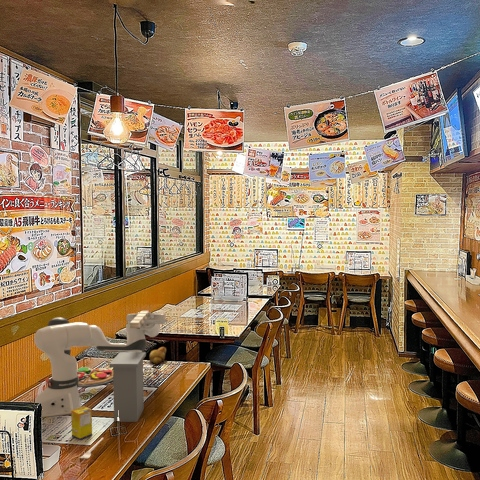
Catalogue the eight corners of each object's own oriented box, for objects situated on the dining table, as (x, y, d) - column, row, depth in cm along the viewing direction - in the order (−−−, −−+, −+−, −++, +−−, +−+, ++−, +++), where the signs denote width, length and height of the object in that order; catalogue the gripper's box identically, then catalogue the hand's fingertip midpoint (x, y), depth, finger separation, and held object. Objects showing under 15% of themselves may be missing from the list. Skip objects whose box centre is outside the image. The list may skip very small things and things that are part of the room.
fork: (107, 439, 206) (107, 435, 206) (85, 462, 186) (85, 457, 186) (99, 439, 207) (99, 434, 206) (76, 462, 187) (76, 457, 187)
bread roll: (162, 364, 303) (162, 351, 303) (146, 364, 304) (146, 351, 304) (167, 358, 316) (167, 345, 316) (151, 358, 317) (151, 345, 317)
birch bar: (141, 316, 265) (141, 310, 265) (149, 316, 265) (149, 310, 265) (130, 328, 240) (130, 322, 239) (138, 328, 239) (138, 322, 239)
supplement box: (84, 431, 212) (83, 405, 211) (92, 435, 208) (92, 409, 208) (71, 436, 207) (70, 410, 207) (79, 440, 204) (79, 413, 203)
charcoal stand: (120, 407, 238) (119, 352, 236) (146, 407, 237) (145, 352, 236) (110, 423, 220) (109, 363, 218) (138, 423, 219) (137, 363, 218)
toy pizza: (57, 388, 265) (57, 380, 265) (72, 371, 293) (72, 364, 292) (111, 387, 266) (111, 378, 266) (121, 370, 294) (121, 363, 294)
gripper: (167, 328, 272) (163, 320, 260) (129, 328, 273) (123, 320, 260) (168, 316, 275) (164, 308, 263) (130, 316, 275) (124, 308, 263)
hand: (143, 314), depth 261 cm, fingers closed on birch bar, 4 cm apart
